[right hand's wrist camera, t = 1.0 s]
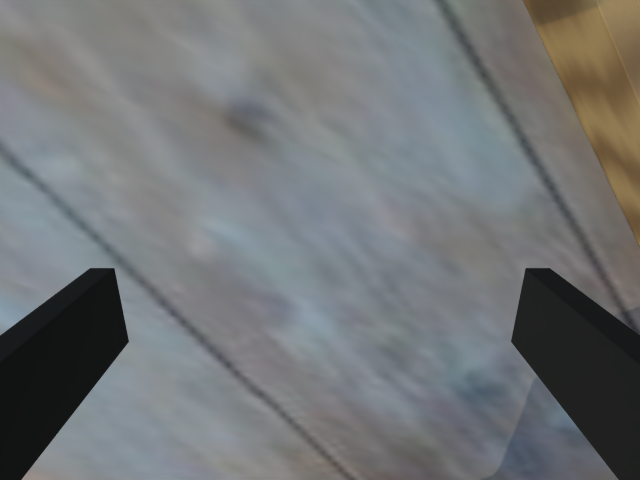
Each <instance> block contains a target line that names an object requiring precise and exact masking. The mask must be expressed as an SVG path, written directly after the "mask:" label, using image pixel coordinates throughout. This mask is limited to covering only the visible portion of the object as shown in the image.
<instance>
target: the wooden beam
mask: <svg viewBox="0 0 640 480" xmlns="http://www.w3.org/2000/svg"><path fill="white" fill-rule="evenodd" d="M523 1H524V3H525V5H526V7H527V9H528V12H529V14H530V16H531V18H532V20H533V22H534V24H535V26H536V29H537V31H538V33H539V35H540V37H541V39H542V41H543V43H544V45H545V48H546V50H547V52H548V54H549V56H550V58H551V60H552V62H553V64H554V67H555V69H556V71H557V73H558V75H559V77H560V79H561V81H562V83H563V86H564V88H565V90H566V92H567V94H568V96H569V98H570V100H571V102H572V105H573V107H574V109H575V111H576V113H577V115H578V117H579V119H580V121H581V124H582V126H583V128H584V130H585V132H586V134H587V136H588V138H589V141H590V143H591V145H592V147H593V149H594V151H595V153H596V155H597V157H598V160H599V162H600V164H601V166H602V168H603V170H604V172H605V174H606V176H607V179H608V181H609V183H610V185H611V187H612V189H613V191H614V193H615V195H616V198H617V200H618V202H619V204H620V206H621V208H622V210H623V212H624V214H625V217H626V219H627V221H628V223H629V225H630V227H631V229H632V231H633V233H634V236H635V238H636V240H637V242H638V244H639V246H640V0H523Z"/></svg>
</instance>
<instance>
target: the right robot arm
mask: <svg viewBox="0 0 640 480" xmlns="http://www.w3.org/2000/svg"><path fill="white" fill-rule="evenodd" d="M128 342H129V340H128V335H127V330H126V325H125V320H124V315H123V310H122V305H121V300H120V295H119V290H118V285H117V280H116V275H115V270H114V268H90V269H89V270H87V271H86V272H85V273H83V274H82V275H81V276H79V277H78V278H77V279H75V280H74V281H73V282H71V283H70V284H69V285H67V286H66V287H65V288H63V289H62V290H61V291H59V292H58V293H57V294H55V295H54V296H53V297H51V298H50V299H49V300H47V301H46V302H45V303H43V304H42V305H41V306H39V307H38V308H37V309H35V310H34V311H33V312H31V313H30V314H28V315H27V316H26V317H24V318H23V319H22V320H20V321H19V322H18V323H16V324H15V325H14V326H12V327H11V328H10V329H8V330H7V331H6V332H4V333H3V334H2V335H0V480H21V479H22V478H23V477H24V476H25V474H26V473H27V472H28V470H29V469H30V468H31V467H32V465H33V464H34V463H35V461H36V460H37V459H38V458H39V456H40V455H41V454H42V452H43V451H44V450H45V449H46V447H47V446H48V445H49V443H50V442H51V441H52V440H53V438H54V437H55V436H56V434H57V433H58V432H59V431H60V429H61V428H62V427H63V425H64V424H65V423H66V422H67V420H68V419H69V418H70V417H71V415H72V414H73V413H74V411H75V410H76V409H77V408H78V406H79V405H80V404H81V402H82V401H83V400H84V399H85V397H86V396H87V395H88V393H89V392H90V391H91V390H92V388H93V387H94V386H95V384H96V383H97V382H98V381H99V379H100V378H101V377H102V375H103V374H104V373H105V372H106V370H107V369H108V368H109V366H110V365H111V364H112V363H113V361H114V360H115V359H116V357H117V356H118V355H119V354H120V352H121V351H122V350H123V349H124V347H125V346H126V345H127V343H128ZM511 342H512V343H513V345H514V346H515V347H516V349H517V350H518V351H519V352H520V354H521V355H522V356H523V357H524V359H525V360H526V361H527V363H528V364H529V365H530V366H531V368H532V369H533V370H534V372H535V373H536V374H537V375H538V377H539V378H540V379H541V381H542V382H543V383H544V384H545V386H546V387H547V388H548V390H549V391H550V392H551V393H552V395H553V396H554V397H555V399H556V400H557V401H558V402H559V404H560V405H561V406H562V408H563V409H564V410H565V411H566V413H567V414H568V415H569V417H570V418H571V419H572V420H573V422H574V423H575V424H576V425H577V427H578V428H579V429H580V431H581V432H582V433H583V434H584V436H585V437H586V438H587V440H588V441H589V442H590V443H591V445H592V446H593V447H594V449H595V450H596V451H597V452H598V454H599V455H600V456H601V458H602V459H603V460H604V461H605V463H606V464H607V465H608V467H609V468H610V469H611V470H612V472H613V473H614V474H615V476H616V477H617V478H618V479H619V480H640V335H638V334H637V333H636V332H634V331H633V330H632V329H630V328H629V327H628V326H626V325H625V324H624V323H622V322H621V321H620V320H618V319H617V318H616V317H614V316H613V315H612V314H610V313H609V312H607V311H606V310H605V309H603V308H602V307H601V306H599V305H598V304H597V303H595V302H594V301H593V300H591V299H590V298H589V297H587V296H586V295H585V294H583V293H582V292H581V291H579V290H578V289H577V288H575V287H574V286H573V285H571V284H570V283H569V282H567V281H566V280H565V279H563V278H562V277H561V276H559V275H558V274H557V273H555V272H554V271H553V270H551V269H550V268H526V270H525V275H524V280H523V285H522V290H521V295H520V300H519V305H518V310H517V315H516V320H515V325H514V330H513V335H512V340H511Z"/></svg>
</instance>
